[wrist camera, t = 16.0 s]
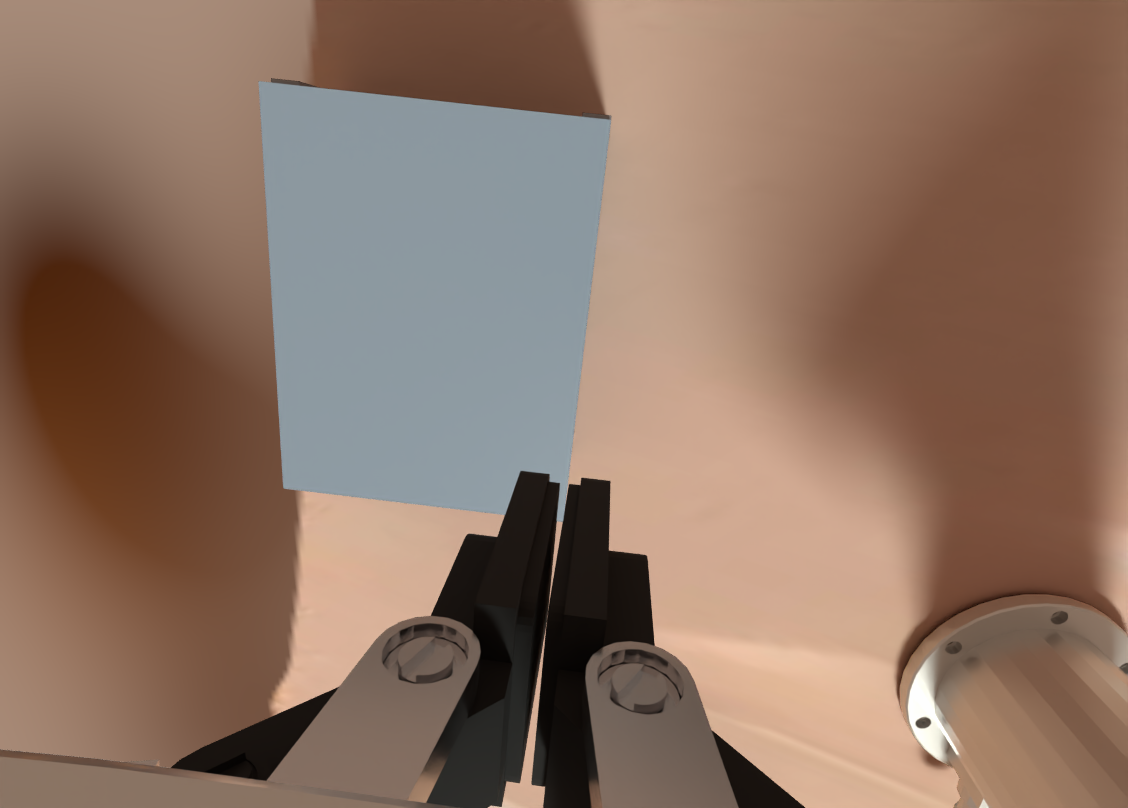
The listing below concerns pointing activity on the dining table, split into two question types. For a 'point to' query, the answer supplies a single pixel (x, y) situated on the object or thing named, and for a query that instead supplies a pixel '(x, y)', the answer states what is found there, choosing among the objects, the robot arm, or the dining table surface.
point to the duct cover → (427, 291)
